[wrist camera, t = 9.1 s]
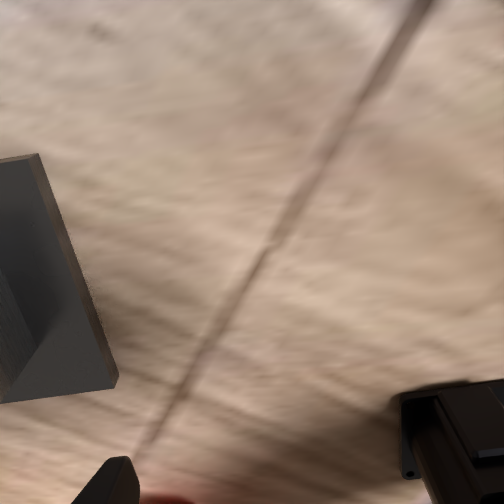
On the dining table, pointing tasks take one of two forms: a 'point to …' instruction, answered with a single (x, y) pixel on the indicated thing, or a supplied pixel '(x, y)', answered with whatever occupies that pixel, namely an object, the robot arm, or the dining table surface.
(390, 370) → the dining table surface
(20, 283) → the grey socket block
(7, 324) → the grey hollow block
